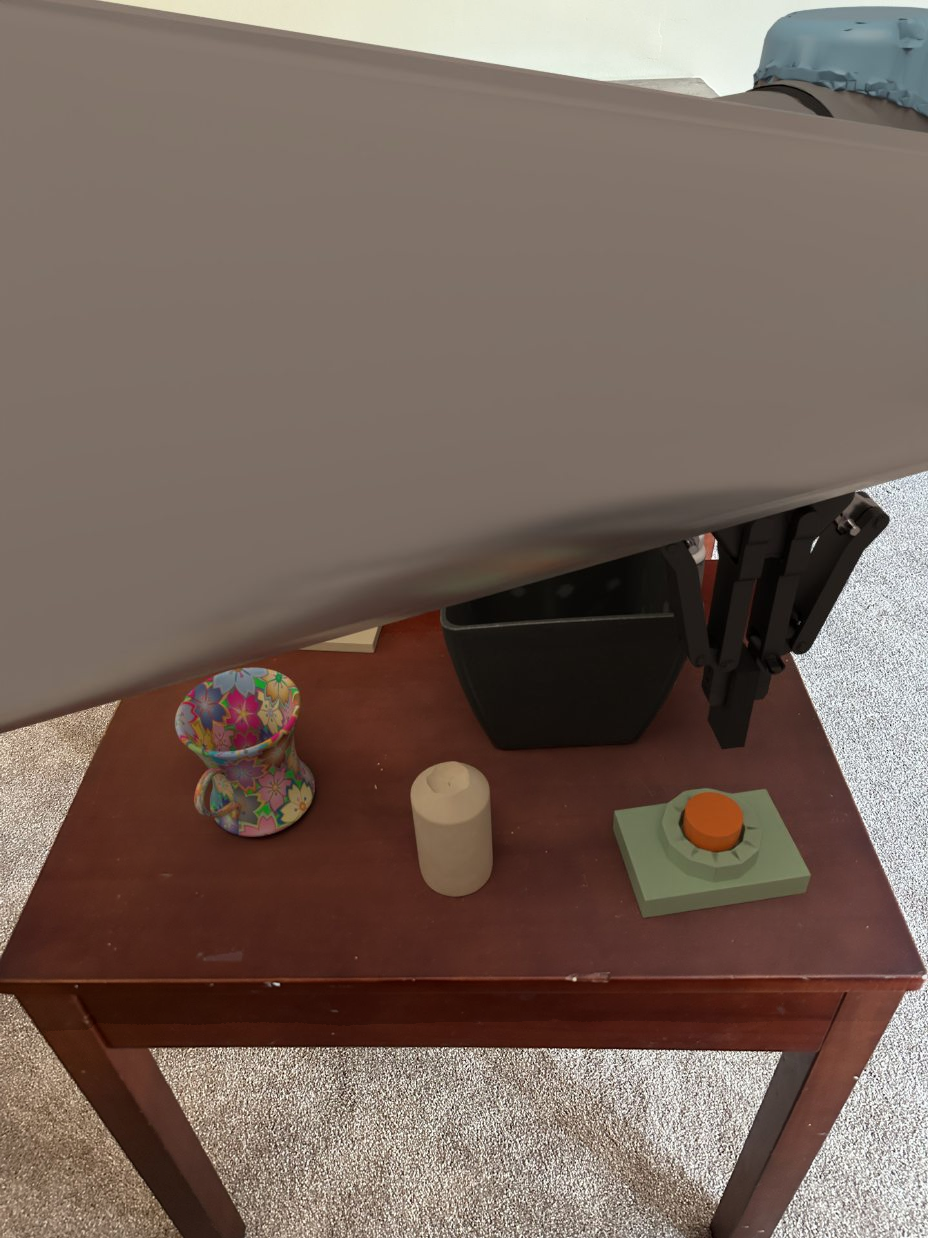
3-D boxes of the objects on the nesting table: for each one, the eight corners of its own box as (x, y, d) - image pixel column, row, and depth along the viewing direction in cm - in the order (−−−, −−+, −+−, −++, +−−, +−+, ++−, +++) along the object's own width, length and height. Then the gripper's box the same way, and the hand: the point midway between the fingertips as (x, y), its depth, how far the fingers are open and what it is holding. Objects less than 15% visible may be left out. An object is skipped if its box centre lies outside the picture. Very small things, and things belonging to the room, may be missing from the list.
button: (693, 856, 63) (696, 840, 62) (675, 811, 66) (677, 796, 65) (748, 847, 63) (752, 832, 62) (727, 804, 66) (730, 788, 65)
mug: (239, 750, 78) (211, 659, 71) (338, 768, 76) (319, 676, 69) (169, 863, 69) (129, 770, 62) (279, 887, 67) (250, 794, 60)
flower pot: (453, 783, 74) (439, 625, 63) (452, 636, 89) (441, 488, 78) (684, 772, 73) (709, 612, 63) (644, 627, 88) (659, 477, 78)
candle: (494, 896, 65) (490, 807, 59) (419, 899, 65) (406, 810, 59) (492, 835, 69) (487, 746, 63) (421, 837, 70) (410, 749, 63)
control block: (642, 918, 63) (647, 885, 61) (612, 828, 69) (615, 794, 67) (805, 893, 64) (816, 859, 62) (761, 806, 70) (769, 772, 68)
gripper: (882, 350, 47) (796, 682, 62) (640, 373, 46) (612, 706, 61) (963, 411, 41) (848, 762, 56) (689, 439, 40) (644, 790, 55)
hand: (725, 733), depth 58 cm, fingers closed
